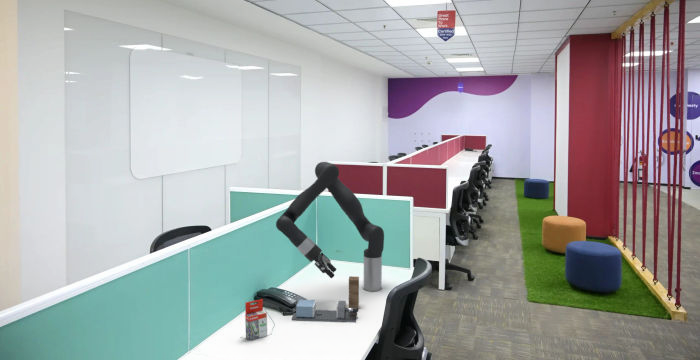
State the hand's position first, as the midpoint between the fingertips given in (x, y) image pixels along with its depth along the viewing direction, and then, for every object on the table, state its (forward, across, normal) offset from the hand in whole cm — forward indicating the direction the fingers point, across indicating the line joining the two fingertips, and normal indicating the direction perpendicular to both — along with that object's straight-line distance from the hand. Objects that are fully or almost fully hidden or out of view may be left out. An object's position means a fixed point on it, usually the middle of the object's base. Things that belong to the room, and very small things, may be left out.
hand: (334, 273), depth 231 cm
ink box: (-8, -34, +31) cm, 47 cm away
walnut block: (+18, 0, +5) cm, 18 cm away
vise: (+9, -12, +13) cm, 20 cm away
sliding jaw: (+2, -12, +18) cm, 22 cm away
